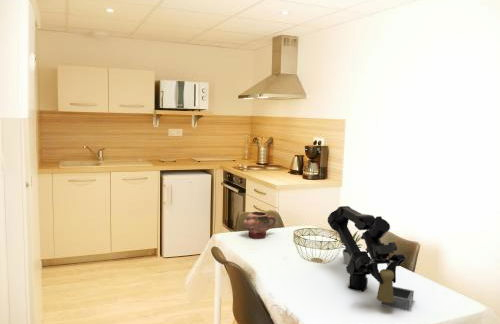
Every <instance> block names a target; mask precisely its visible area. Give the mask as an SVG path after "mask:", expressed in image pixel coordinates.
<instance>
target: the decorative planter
mask: <svg viewBox="0 0 500 324" xmlns="http://www.w3.org/2000/svg"><path fill="white" fill-rule="evenodd" d="M270 220H272V221H273V222H272V224H271V225H270ZM276 221H277V220H276V217H275V216H273V215H268V213H266V212H264V211H263V212H261V211H253V212H250V213H248V214H247V215H246V217H245V219H244V220H243V225H244V227H246V228H247V230H248V237H249V238H251V239H255V240H261V239H262V240H263V239H265V238H266V237H267V231H268V230H270V229H272V228H273V227H274V225H275V223H276Z"/></svg>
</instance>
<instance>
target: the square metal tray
mask: <svg viewBox="0 0 500 324" xmlns="http://www.w3.org/2000/svg"><path fill="white" fill-rule="evenodd" d="M414 294H415V290H412V289H406V288H402V287H398V286H394V285H393V296H394V301H393V302H390V303H386V302H382V301H380V302H381V304H382V305H381V306H385V305H386V307H389V306H390V308H393V309H398V308H399V309H398V310H402V309H403V310H402V311H406V310H407V311H406V312H410V310H411V307H412V305H413V302H414ZM411 304H412V305H411Z"/></svg>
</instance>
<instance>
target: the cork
mask: <svg viewBox="0 0 500 324" xmlns="http://www.w3.org/2000/svg"><path fill="white" fill-rule="evenodd" d="M379 273H380V275H381V278H382V281H383V284H380V283H379V285H378V289H377V294H376V299H377V300H378V301H379V302H386V303H390V302H393V301H394V296H393V286H394V285H393V284H394V283H393V281H392V280H393V278H394V273H393V271H391V270H388V269H386V268H383V269H381V270H380V271H379Z"/></svg>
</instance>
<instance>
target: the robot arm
mask: <svg viewBox="0 0 500 324" xmlns="http://www.w3.org/2000/svg"><path fill="white" fill-rule="evenodd" d="M349 221H351V222H352V223H354V227H355V228H356V229H357V231H363V232H362V235H360V237H361V238H360V240H363V241H364V243H365V245H366V250H362V251H361V248H359V247H360V246H358V245H359V244H358V243H356V242H357V241H356V242H355V240H356V239H355V238H353V235H352V233H351V230H350V229H349V227H348V226H349ZM327 223H328V225H329V226H330V228H331V229H332V230H333V231H335V232H336V233H337V234H338V237H339V236H340V237H339V239H340V238H341V240H342V241H341V240H340V241H341V242H343V243H342V244H344V245H343V247H344V249H345V248H346V249H347V251H348V253H349V255H350V261H349V264H348V265H346V266H345V270H346V273H347V274H349V283H348V284H349V285H348V286H347V289H350V290H353V291H358V292H364V291H365V290H367V288H368V280H369V279H368V277H367V275H368V276H369V275H371V276H372V277H373V279H375V280H376V281H377V282H378V283H379V284H383V281H382V278H381V275H380V271H379V266H378V265H382V264H383V265H384V264H386V266H387V267H385V269H388V270H391V271H393V273H394V278H393V280H392V283H393V284H395V283H397V281H396V280H397V275H396V271H397V267H400V266H402V264H403V263H405V262H406V261H407V258H406V256H405V254H403V253H395V251H398V245H397V244H396V242H395V241H391V242H388V244H385V243H384V242H382V240H381V239H382V238H383V237H384V236H385V235H386V234H387V233H388V232H389V231H390V229H391V225H390V223H389V222H388V221H387V220H385V219H384V218H383V217H382V216H376V217H375V216H374V215H372V214H366V213H365V214H364V213H361V212H358V211H357V210H355V209H353V208H351V206H349V205H344V206H343V205H342V206H338V208H337V209H335V210H334V211H331V212H330V213H329V215H328V217H327ZM390 254H393V255H392V256H391V257H389V256H390Z"/></svg>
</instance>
